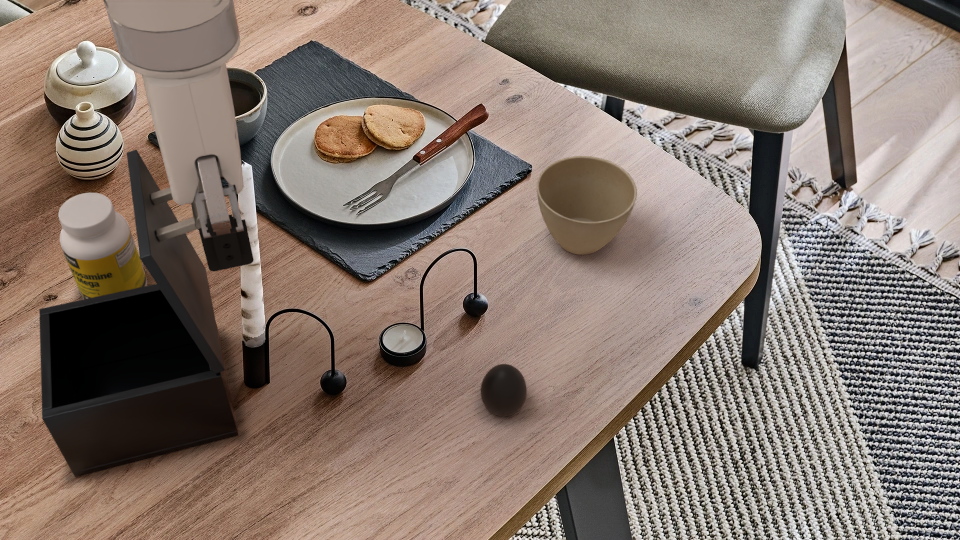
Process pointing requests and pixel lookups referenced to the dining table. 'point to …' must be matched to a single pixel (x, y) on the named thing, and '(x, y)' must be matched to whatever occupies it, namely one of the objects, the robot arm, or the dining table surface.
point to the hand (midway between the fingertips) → (222, 220)
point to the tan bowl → (585, 201)
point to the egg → (503, 390)
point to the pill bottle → (99, 246)
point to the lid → (174, 258)
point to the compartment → (127, 382)
